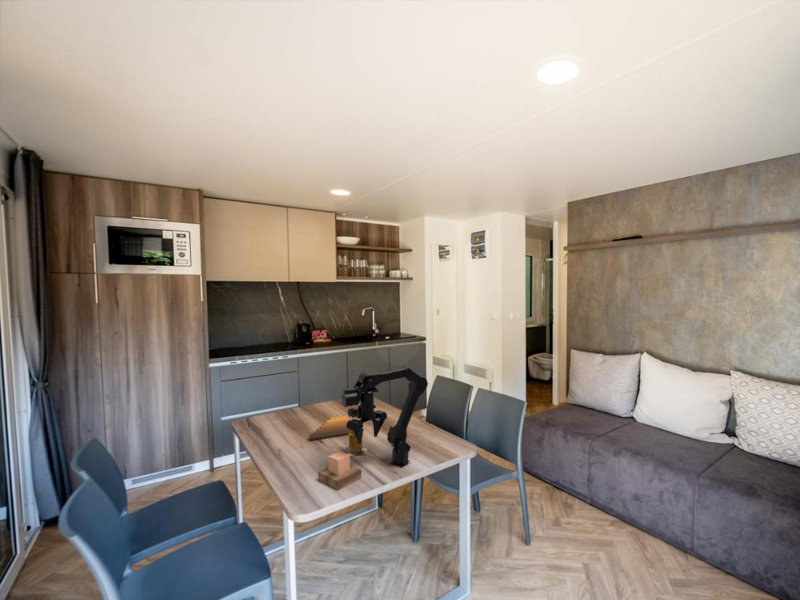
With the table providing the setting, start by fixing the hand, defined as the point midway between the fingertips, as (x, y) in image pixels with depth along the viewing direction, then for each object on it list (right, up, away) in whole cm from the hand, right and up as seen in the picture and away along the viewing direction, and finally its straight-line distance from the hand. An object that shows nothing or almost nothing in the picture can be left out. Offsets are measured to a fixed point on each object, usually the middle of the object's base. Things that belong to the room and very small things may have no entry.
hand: (367, 440), depth 154 cm
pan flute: (-25, -13, +48) cm, 56 cm away
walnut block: (-11, -14, -6) cm, 18 cm away
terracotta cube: (-11, -10, -7) cm, 16 cm away
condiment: (-6, -13, +19) cm, 24 cm away
